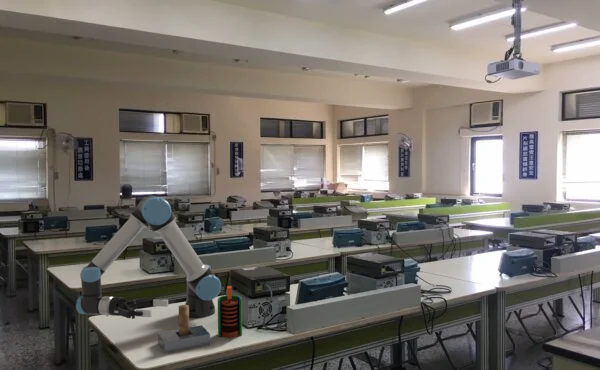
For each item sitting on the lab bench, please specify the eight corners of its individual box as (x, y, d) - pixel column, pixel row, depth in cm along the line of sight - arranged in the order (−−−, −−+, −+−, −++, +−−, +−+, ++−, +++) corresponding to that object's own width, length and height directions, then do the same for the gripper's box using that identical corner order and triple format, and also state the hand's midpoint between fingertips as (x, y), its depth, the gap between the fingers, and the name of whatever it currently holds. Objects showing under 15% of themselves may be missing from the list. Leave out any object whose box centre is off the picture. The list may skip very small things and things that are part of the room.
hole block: (201, 335, 205) (201, 325, 204) (210, 345, 194) (210, 334, 194) (158, 343, 196) (158, 332, 196) (164, 353, 186) (164, 342, 186)
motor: (220, 339, 200) (219, 291, 199) (215, 332, 208) (215, 286, 208) (244, 336, 204) (243, 289, 203) (238, 329, 212) (238, 284, 211)
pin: (187, 340, 198) (187, 304, 197) (190, 343, 194) (189, 306, 194) (177, 342, 196) (177, 305, 195) (180, 345, 192) (179, 308, 192)
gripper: (130, 306, 213) (174, 307, 209) (94, 325, 189) (143, 327, 184) (129, 289, 213) (173, 290, 208) (93, 306, 189) (142, 308, 184)
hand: (159, 308), depth 196 cm, fingers open, 13 cm apart
